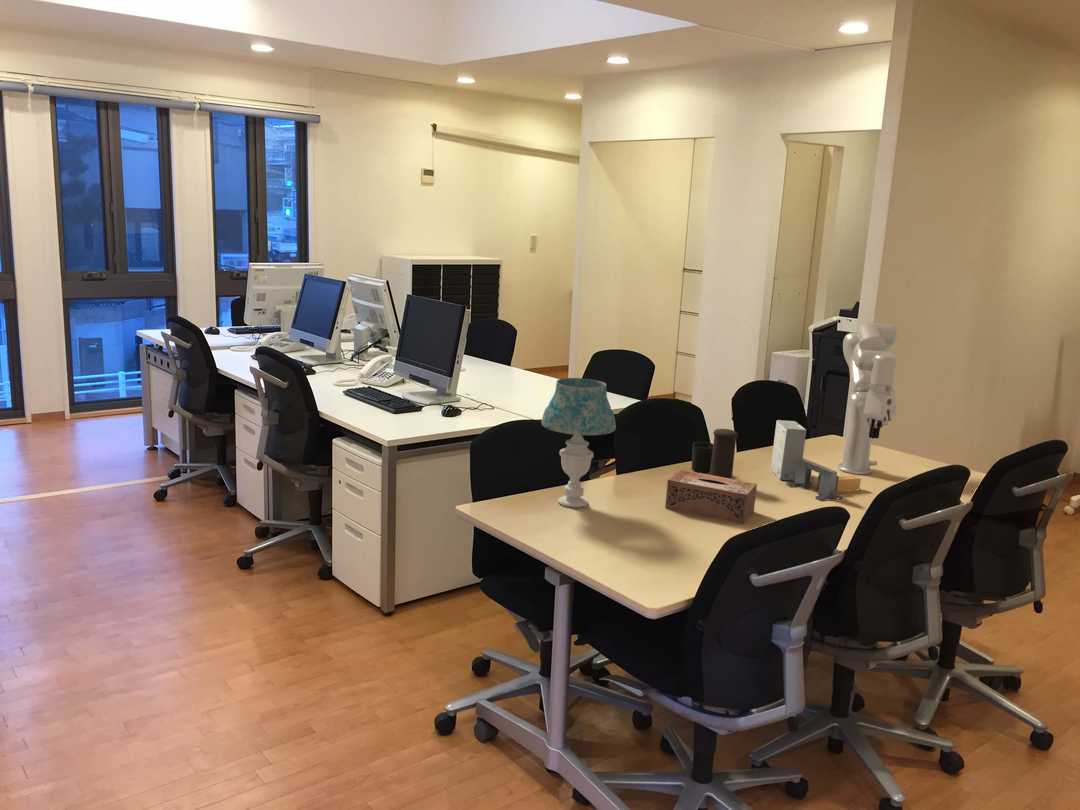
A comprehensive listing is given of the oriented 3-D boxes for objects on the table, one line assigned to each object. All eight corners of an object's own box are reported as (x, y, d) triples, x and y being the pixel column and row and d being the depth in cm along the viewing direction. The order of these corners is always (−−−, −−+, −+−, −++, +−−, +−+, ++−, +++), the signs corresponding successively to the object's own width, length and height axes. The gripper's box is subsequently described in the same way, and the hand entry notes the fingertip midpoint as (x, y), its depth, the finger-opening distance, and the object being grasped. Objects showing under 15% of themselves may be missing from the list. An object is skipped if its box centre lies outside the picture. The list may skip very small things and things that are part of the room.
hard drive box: (800, 481, 319) (807, 430, 315) (779, 480, 319) (786, 428, 315) (789, 470, 334) (795, 420, 330) (769, 468, 334) (775, 419, 330)
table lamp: (571, 487, 295) (579, 373, 287) (624, 506, 279) (634, 385, 270) (521, 500, 279) (528, 379, 270) (574, 520, 262) (583, 393, 254)
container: (734, 482, 313) (740, 429, 309) (729, 488, 305) (735, 434, 301) (711, 478, 317) (717, 425, 313) (705, 484, 309) (711, 430, 304)
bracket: (808, 483, 318) (811, 457, 316) (841, 498, 302) (845, 471, 299) (786, 485, 314) (789, 458, 312) (819, 500, 298) (822, 473, 296)
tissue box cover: (665, 509, 279) (667, 479, 277) (678, 497, 292) (680, 469, 290) (743, 525, 269) (747, 494, 267) (753, 512, 281) (757, 483, 279)
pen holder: (719, 470, 328) (721, 445, 326) (709, 475, 320) (712, 449, 318) (696, 465, 333) (698, 440, 331) (686, 470, 325) (689, 445, 323)
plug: (851, 486, 317) (853, 471, 316) (860, 490, 313) (862, 474, 312) (816, 489, 311) (818, 473, 310) (825, 493, 307) (827, 477, 306)
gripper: (904, 392, 304) (896, 442, 308) (873, 384, 317) (866, 432, 321) (888, 393, 301) (880, 443, 305) (857, 384, 315) (851, 433, 318)
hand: (873, 437), depth 313 cm, fingers closed
